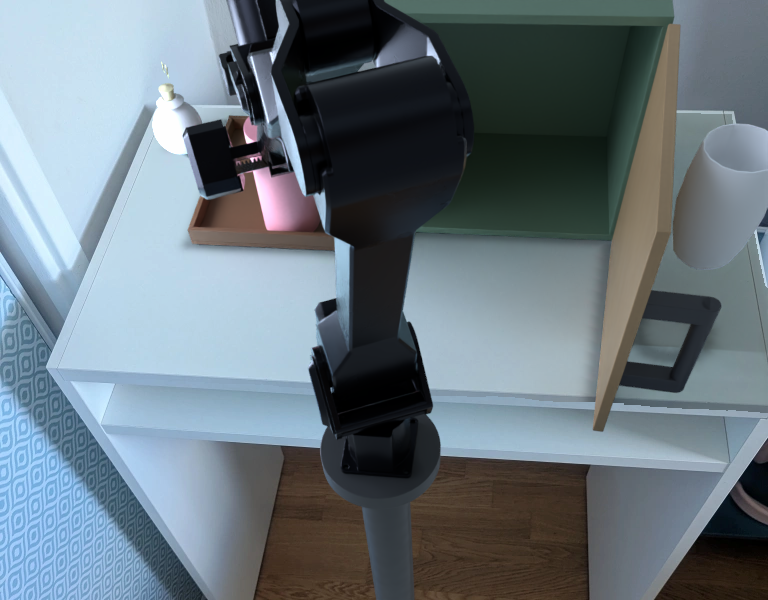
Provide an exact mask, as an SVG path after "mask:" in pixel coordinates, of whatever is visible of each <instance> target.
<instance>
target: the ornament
mask: <svg viewBox="0 0 768 600" xmlns="http://www.w3.org/2000/svg"><path fill="white" fill-rule="evenodd" d="M160 62H161V66H162V71H163V73H165V74H166V75H167V78H170V76H169V71H168V68H169V67H168V66H167V65H166V64H165V63H163V62H162V61H160ZM157 89H158V91H159V93H160V95H161V96H159V98H157V100H156V106H157V109H156V110H155V112H154V114H153V117H152V129H153V133H154V137H155V139H156V140H157V142H158V143H159V144H160V146H161V147H163V149H164V150H167V151H168V152H169V153H172V154H174V155H188V154H187V150H186V147H185V144H184V140H183V137H182V135H183V133H184V131H185V129H186V127H190V126H194V125H199V124H203V123H204V122H203V119H202V117H201V115H200V114H199V112H198V110H197V109H196V108H195V107H194V106H193V105H191V104H190V103H188V102H186V101H185V98H184V96H183V95H182V94H181V93H176V92H175V87H174V85H173V83H171V82H165V83H161V84H160V85H159V86H158V88H157Z"/></svg>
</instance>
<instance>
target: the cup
mask: <svg viewBox="0 0 768 600" xmlns="http://www.w3.org/2000/svg"><path fill="white" fill-rule="evenodd" d="M767 210H768V130H767V129H766V128H764V127H760V126H757V125H753V124H751V123H750V124H748V123H735V122H734V123H729V124H723V125H719V126H718V127H715V128H713V129H712V130H710V131H708V132H707V134H706V135H705V136H704V138H703V139H702V141H701V143H700V145H699V147H698V148H697V151H696V152H695V154H694V155H693V159H691V162H690V164H689V166H688V167H687V170H686V172H685V175H684V177H683V180H682V183H681V185H680V187H679V190H678V193H677V195H676V198H675V205H674V212H673V217H672V251H673V253H674V254H675V256H676V258H677V259H678V260H680V262H682V263H684V264H685V265H687V266H688V267H689V268H690V269H694V270H698V271H704V270H707V271H708V270H709V271H711V270H715V269H721V268H723V267H724V266H726V265H728V264H730V263H731V261H733V259H735V258H736V257H737V255H738V254H739V253H740V252H741V251H742V250H743V249H745V246H746V245H747V243H748V242H749V240H751V238H752V236H753V235H754V233H755V232H756V231H757V229H758V227H759V226H760V224H761V222H762V221H763V219H764V218H765V215H766V213H767Z"/></svg>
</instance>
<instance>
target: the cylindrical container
mask: <svg viewBox="0 0 768 600" xmlns="http://www.w3.org/2000/svg"><path fill="white" fill-rule="evenodd" d="M243 129H244V134H245V138H246V143H252V142H256V141H257V126H254V125H251V122H250V118H249V117H248V118H247V120H246V121H245V123H244V128H243ZM258 157H259V159H260V160H261V157H262V156H257V157H253V158H250V159H251V161H252V162H253V159H254V158H255V160H256V161H257V158H258ZM253 173H254V178H255V182H256V186H257V191H258V195H259V199H260V204H261V208H262V212H263V217H264V221H265V225H266V229H267V230H272V231H295V232H314V231H315V230H316V228H317V227H318V225H319V223H320V215H319V212H318V209H317V206H316V203H315V200H314V196H313V195H311V196H307V197H305V196H304V195H303V193H302V191H301V188H300V186H299V183H298V180H297V178H296V175H295V172H292V173H288V174H284V175H280V176H276V177H272V178H271V175H270V171H269V167H268V168H264V169H260V170H256V171H253Z"/></svg>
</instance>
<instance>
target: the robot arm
mask: <svg viewBox="0 0 768 600" xmlns="http://www.w3.org/2000/svg"><path fill="white" fill-rule="evenodd" d="M225 2H226V5H227V8H228V12H229V16H230V20H231V23H232V24H231V25H232V27H233V30H234V31H233V32H234V35H235V38H236V42H237V43H236V44H235V43H234V44H230V45H229V46H228V48H229V50H227V51H226V52H223V53H219V54H218V62H219V67H220V73H221V76H222V78H223V82H224V85H225V88H226V92H227V95H228V96H229V97H233V96H237V100H238V103H239V105H240V108H241V110H242V112H244V113H245V115H247V116H249V118H250V122H251V125H254V126H257V141H256V142H252V143H247V144H243V145H239V146H235V147H233V146H232V143H231V140H230V138H229V135H228V132H227V129H226V126H225V125H224V124H223V121H222V119H216V120H212V121H207V122H202V123H203V124H199V125H194V126H190V127H186V129H185V131H184V133H183V135H182V137H183V140H184V144H185V147H186V150H187V154H186V155H187V157H188V160H189V163H190V167H191V170H192V173H193V177H194V180H195V183H196V187H197V190H198V194H199V197H200V196H202V197H203V198H205V199H207V200H210V199H214V198H218V197H222V196H226V195H230V194H234V193H238V192H242V191H244V185H245V176H244V173H248V172H252V171H256V170H260V169H264V168H268V167H269V171H270V175H271V178H272V177H276V176H280V175H284V174H288V173H292V172H295V175H296V178H297V180H298V183H299V186H300V188H301V191H302V193H303V195H304V196H305V197H307V196H311V195H313V196H314V200H315V203H316V206H317V209H318V212H319V215H320V218H321V221H322V224H323V227H324V231H325V233H326V234H329V235H331V236H333V237H335V251H334V265H335V267H334V268H335V271H334V272H335V297H334V298H331V299H327V300H324V301H320V302H318V303H317V304H316V306H315V309H314V315H315V330H316V331H315V338H316V344H317V345H316V346H312V347H310V352H311V354H310V355H309V358H310V362H309V365H308V366H307V371H308V375H309V378H310V382H311V386H312V390H313V393H314V397H315V401H316V404H317V409H318V413H319V417H320V421H321V424H322V426H325V427H326V428H327V427H330V429H331V431H332V433H333V435H335V437H336V440H338V439H342V437H345V436H346V439H345V444H344V450H343V455H342V461H341V466H340V467H341V471H342V473H344V474H354V475H367V476H380V477H392V478H405V479H407V478H410V477H411V476H412V470H413V462H414V455H415V447H416V439H417V431H418V420H417V419H416V418H414V417H415V416H419V415H422V414H425V415H429V414H432V411H433V408H434V403H433V399H432V398H433V397H432V394H431V390H430V386H429V382H428V378H427V372H426V369H425V364H424V361H423V357H422V351H421V348H420V344H419V340H418V336H417V333H416V330H415V328H414V326H413V323H412V322H411V321H407V319H406V315H405V312H404V307H405V301H406V295H407V287H408V281H409V275H410V269H411V263H412V258H413V251H414V245H415V238H416V233H417V232H416V230H417V229H418V228H420V227H421V226H422V225H424V224H425V223H426V222H427V221H429V220H430V219H431V218H432V217H434V216H435V215H436V214H438V213H439V212H440V211H441V210H443V209H444V208H445V207H446V206H448V205H449V204H450V202H451V200H452V198H453V196H454V194H455V192H456V189H457V187H458V185H459V182H460V180H461V178H462V175H463V173H464V169H465V165H466V157H468V156H469V155H470V154H471V152H472V149H473V144H474V122H473V113H472V108H471V104H470V99H469V96H468V93H467V90H466V88H465V85H464V83H463V81H462V79H461V77H460V75H459V73H458V71H457V70H456V68H455V66H454V64H453V62H452V60H451V58H450V56H449V54H448V52H447V50H446V48H445V46H444V44H443V43H442V41H441V39H440V37H439V35H438V34H437V33H436V32H435V31H434V30H432V29H431V28H429V27H427V26H426V25H424V24H422V23H420V22H419V21H417V20H415V19H413V18H412V17H410V16H408V15H406V14H405V13H403V12H401V11H400V10H398V9H396V8H394V7H393V6H391V5H389V4H387V3H386V2H385V1H384V0H225ZM371 62H373V65H374V67H372V68H368V69H365V70H363V69H362V67H363V66H364V65H365V64H369V63H371ZM360 69H362V70H360ZM257 156H262V157H261V160H260V159H259V157H258V158H257V161H256V160H255V158H254V159H253V162H252V161H251V159H250V160H249V163H248V162H247V160H246V161H245V164H244V163H243V161H242V162H240V161H241V160H245V159H249V158H253V157H257ZM412 422H415V424H411V423H412ZM345 467H348V469H344V468H345ZM406 471H407V472H409V473H408V474H405V473H404V472H406Z"/></svg>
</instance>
